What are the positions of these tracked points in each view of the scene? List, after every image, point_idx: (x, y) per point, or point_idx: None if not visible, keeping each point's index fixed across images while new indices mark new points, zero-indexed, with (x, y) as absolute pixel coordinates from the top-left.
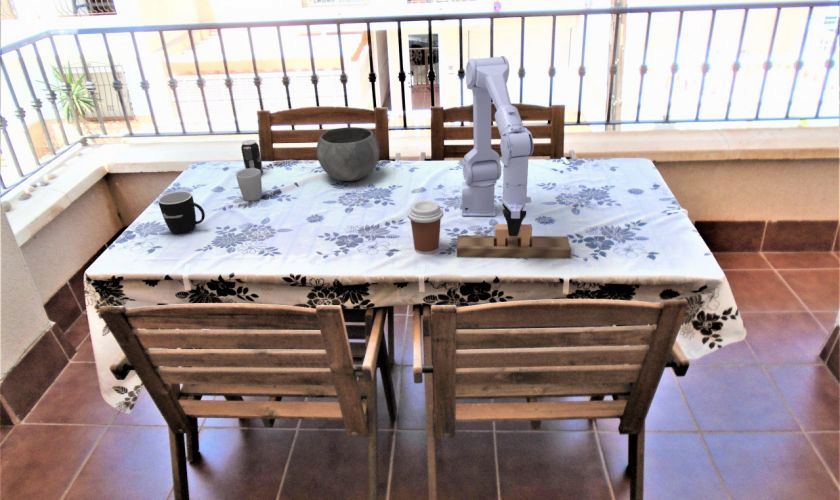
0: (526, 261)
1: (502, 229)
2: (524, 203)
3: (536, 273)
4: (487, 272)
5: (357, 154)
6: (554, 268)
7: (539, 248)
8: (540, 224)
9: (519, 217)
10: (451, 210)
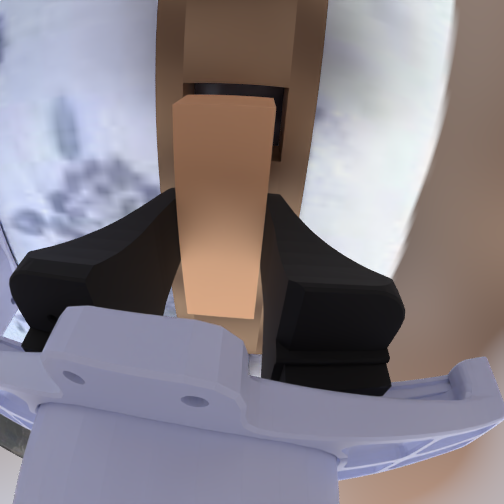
0: (337, 117)
1: (255, 292)
2: (370, 436)
3: (434, 106)
4: (383, 264)
5: (17, 438)
6: (407, 22)
7: (313, 54)
8: (6, 59)
9: (488, 364)
10: (19, 311)
